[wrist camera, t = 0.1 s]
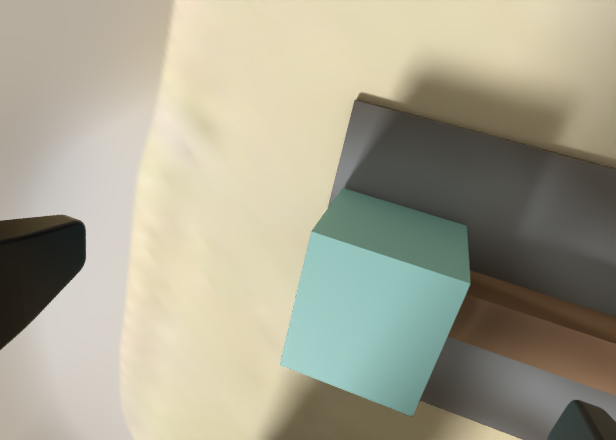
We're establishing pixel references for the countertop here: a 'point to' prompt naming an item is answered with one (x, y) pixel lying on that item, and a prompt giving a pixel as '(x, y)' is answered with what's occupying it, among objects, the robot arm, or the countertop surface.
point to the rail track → (505, 264)
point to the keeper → (377, 299)
